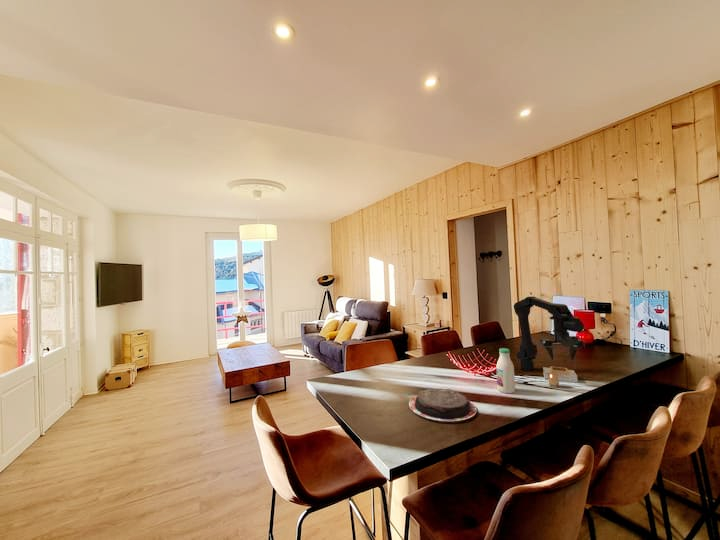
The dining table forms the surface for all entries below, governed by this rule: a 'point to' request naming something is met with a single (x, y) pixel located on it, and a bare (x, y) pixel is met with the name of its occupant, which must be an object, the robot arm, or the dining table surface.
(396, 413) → the dining table surface
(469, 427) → the dining table surface
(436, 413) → the chocolate cake
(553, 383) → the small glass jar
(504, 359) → the milk bottle
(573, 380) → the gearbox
